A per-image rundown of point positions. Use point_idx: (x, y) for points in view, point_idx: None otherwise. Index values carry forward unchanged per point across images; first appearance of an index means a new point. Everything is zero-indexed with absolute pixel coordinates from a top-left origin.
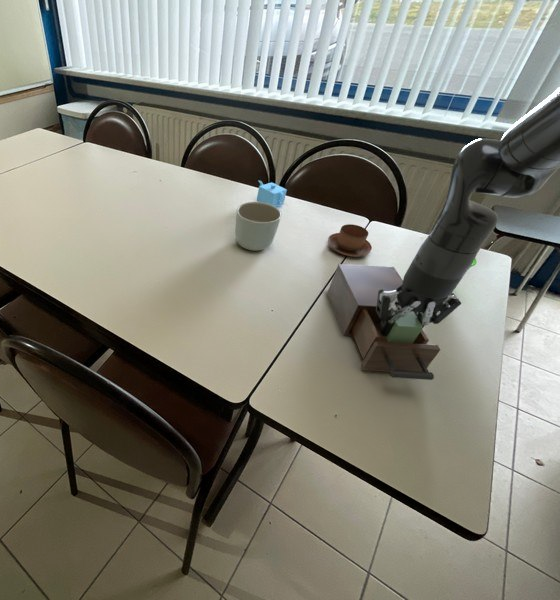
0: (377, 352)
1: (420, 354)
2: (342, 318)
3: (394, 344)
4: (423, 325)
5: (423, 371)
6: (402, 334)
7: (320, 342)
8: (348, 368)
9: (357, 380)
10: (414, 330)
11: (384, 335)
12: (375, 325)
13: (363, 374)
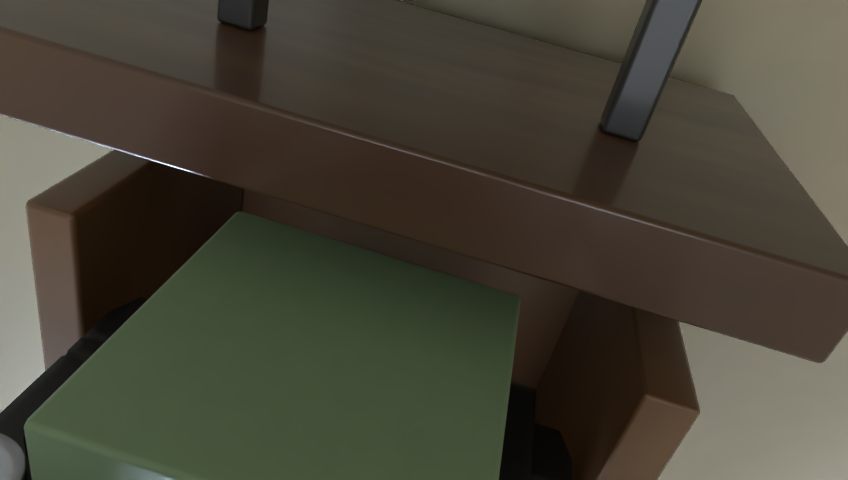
0: (765, 195)
1: (217, 40)
2: None
3: (565, 243)
4: (6, 440)
5: None
6: (371, 366)
7: (813, 410)
8: (799, 149)
9: (831, 7)
10: (192, 397)
11: (527, 391)
12: None
13: (713, 62)
